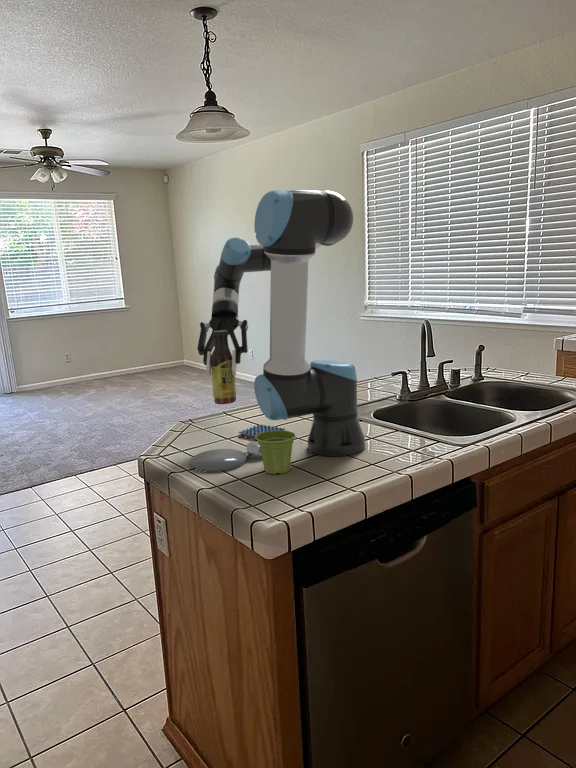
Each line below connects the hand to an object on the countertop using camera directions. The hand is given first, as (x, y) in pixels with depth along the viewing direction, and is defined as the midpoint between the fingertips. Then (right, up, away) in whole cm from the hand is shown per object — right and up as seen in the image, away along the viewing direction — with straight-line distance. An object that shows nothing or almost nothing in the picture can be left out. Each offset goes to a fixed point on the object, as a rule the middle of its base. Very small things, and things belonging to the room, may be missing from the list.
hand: (221, 373), depth 151 cm
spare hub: (+10, -22, -4) cm, 24 cm away
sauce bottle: (+1, -8, +5) cm, 10 cm away
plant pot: (+15, -24, -15) cm, 32 cm away
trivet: (0, -23, -7) cm, 24 cm away
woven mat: (+11, -18, +14) cm, 26 cm away
